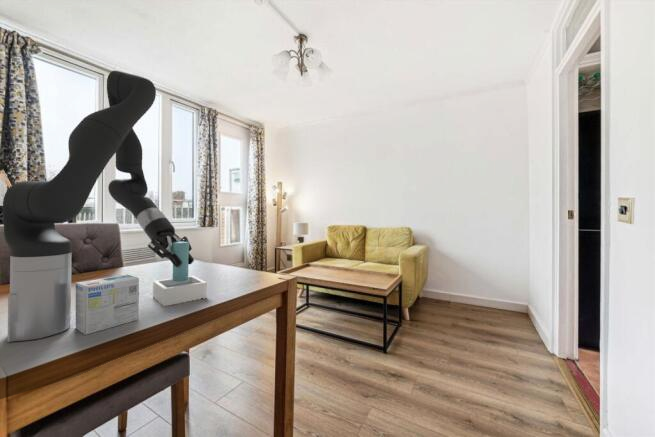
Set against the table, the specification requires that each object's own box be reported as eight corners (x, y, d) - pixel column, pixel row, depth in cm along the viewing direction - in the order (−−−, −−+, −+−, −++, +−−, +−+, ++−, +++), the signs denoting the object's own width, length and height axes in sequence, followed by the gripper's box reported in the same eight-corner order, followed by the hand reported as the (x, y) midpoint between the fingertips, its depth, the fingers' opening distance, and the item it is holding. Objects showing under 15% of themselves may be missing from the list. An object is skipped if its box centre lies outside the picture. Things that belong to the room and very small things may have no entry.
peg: (175, 282, 82) (175, 243, 82) (170, 279, 85) (171, 242, 85) (190, 280, 85) (190, 242, 85) (185, 277, 88) (186, 241, 88)
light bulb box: (127, 314, 70) (128, 273, 70) (139, 320, 67) (140, 277, 67) (73, 328, 61) (74, 281, 61) (84, 336, 58) (85, 286, 58)
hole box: (163, 306, 77) (164, 289, 77) (153, 296, 85) (153, 281, 85) (206, 297, 85) (206, 282, 85) (192, 289, 94) (193, 275, 94)
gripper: (142, 217, 80) (174, 260, 77) (179, 216, 94) (208, 253, 91) (128, 233, 81) (159, 276, 79) (167, 231, 95) (195, 267, 92)
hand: (185, 263), depth 85 cm, fingers closed on peg, 4 cm apart
